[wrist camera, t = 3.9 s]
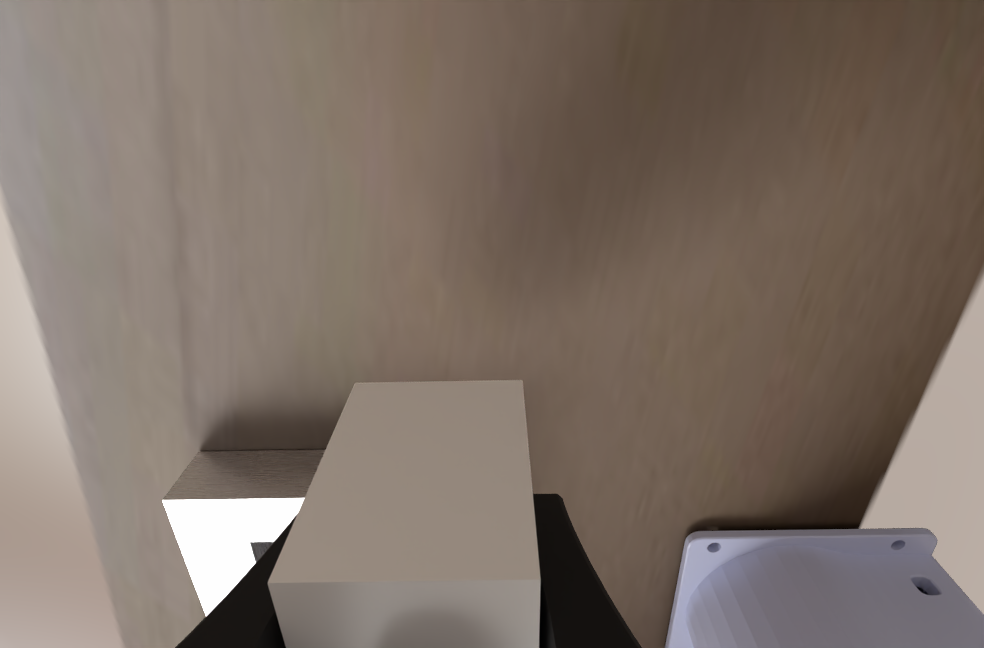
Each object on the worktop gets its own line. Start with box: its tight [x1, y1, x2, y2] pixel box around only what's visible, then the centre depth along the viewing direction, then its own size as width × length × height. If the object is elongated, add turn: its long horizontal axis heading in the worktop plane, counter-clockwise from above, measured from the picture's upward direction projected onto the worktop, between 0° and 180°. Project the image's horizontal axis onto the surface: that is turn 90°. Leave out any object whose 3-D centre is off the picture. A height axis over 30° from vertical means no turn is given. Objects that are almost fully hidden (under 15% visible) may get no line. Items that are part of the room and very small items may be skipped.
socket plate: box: [162, 450, 325, 616], centre depth 20 cm, size 10×10×3 cm
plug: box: [268, 380, 541, 648], centre depth 10 cm, size 4×5×6 cm
